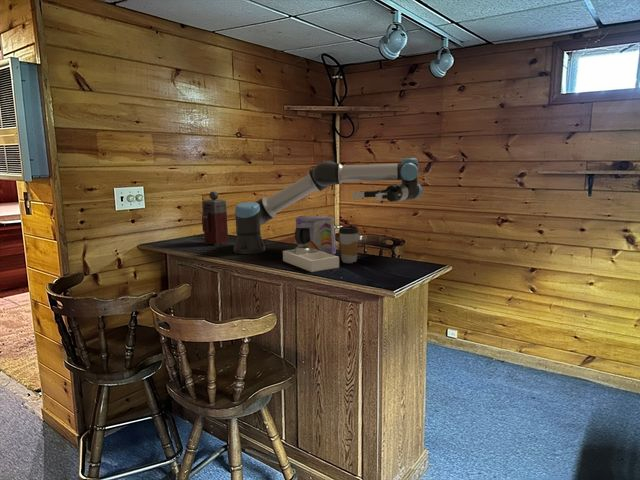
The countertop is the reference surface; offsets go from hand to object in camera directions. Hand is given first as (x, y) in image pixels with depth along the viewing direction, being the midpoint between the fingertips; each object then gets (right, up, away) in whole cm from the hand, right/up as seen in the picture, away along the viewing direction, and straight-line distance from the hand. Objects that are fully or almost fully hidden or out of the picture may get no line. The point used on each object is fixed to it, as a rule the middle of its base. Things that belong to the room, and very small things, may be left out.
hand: (364, 196), depth 208 cm
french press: (-75, -21, +48) cm, 92 cm away
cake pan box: (-22, -26, +17) cm, 37 cm away
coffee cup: (-7, -28, -1) cm, 29 cm away
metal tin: (-27, -27, 0) cm, 38 cm away
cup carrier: (-24, -29, -4) cm, 38 cm away
